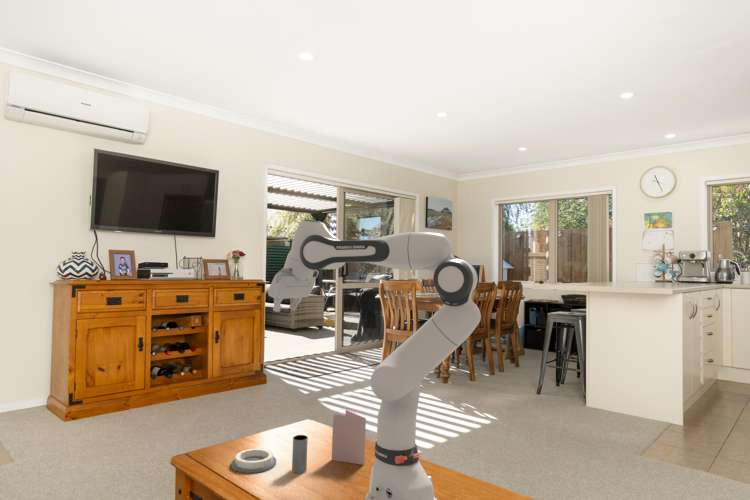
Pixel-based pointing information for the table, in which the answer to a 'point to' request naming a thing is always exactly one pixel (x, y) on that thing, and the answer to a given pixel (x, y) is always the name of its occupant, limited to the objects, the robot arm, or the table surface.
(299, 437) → the grey cylinder
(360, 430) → the greeting card
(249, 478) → the table surface
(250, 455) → the ring dish
